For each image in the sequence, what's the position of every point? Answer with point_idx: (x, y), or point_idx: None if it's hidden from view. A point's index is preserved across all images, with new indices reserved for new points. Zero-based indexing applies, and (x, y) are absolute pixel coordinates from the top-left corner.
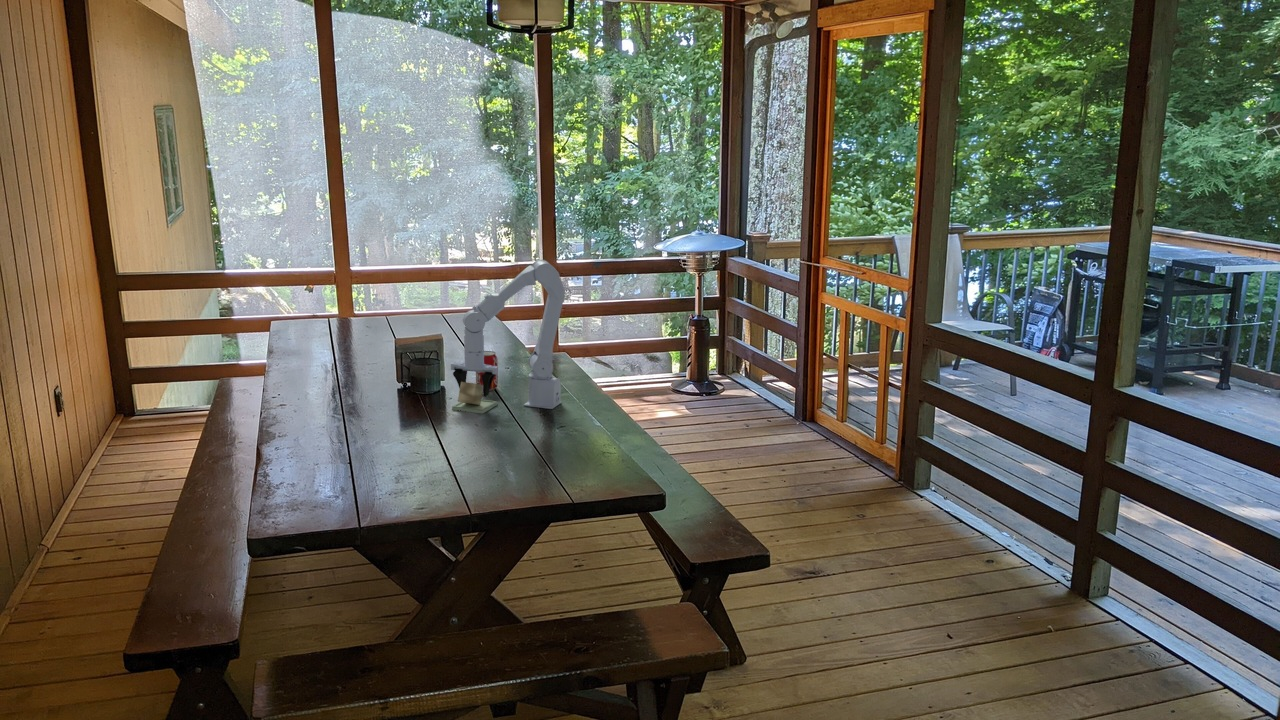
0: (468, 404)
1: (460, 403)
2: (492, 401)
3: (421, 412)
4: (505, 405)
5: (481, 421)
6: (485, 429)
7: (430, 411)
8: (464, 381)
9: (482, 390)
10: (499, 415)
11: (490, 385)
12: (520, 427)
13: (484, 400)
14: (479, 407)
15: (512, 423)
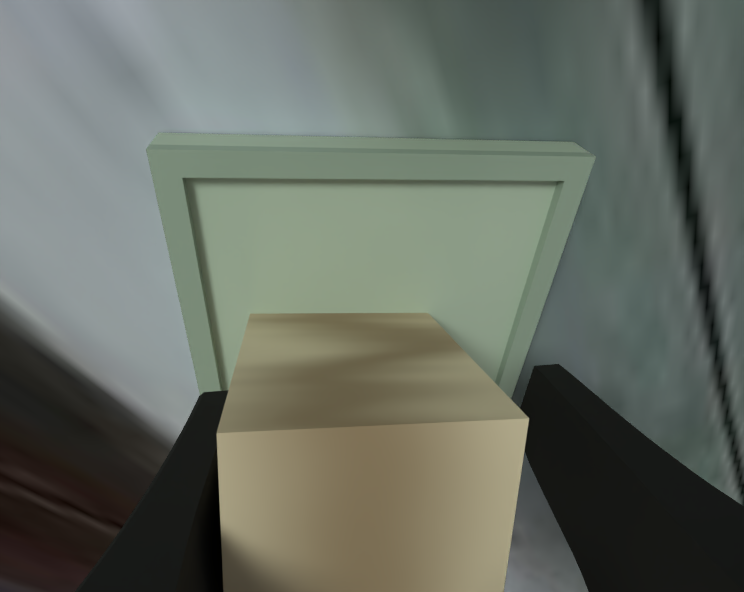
0: None
1: (214, 353)
2: (536, 180)
3: (48, 528)
4: (667, 126)
5: (519, 499)
6: (563, 553)
7: (86, 496)
8: (200, 588)
9: (491, 386)
10: (618, 391)
11: (674, 469)
12: (737, 487)
13: (428, 181)
14: None
15: (700, 463)
